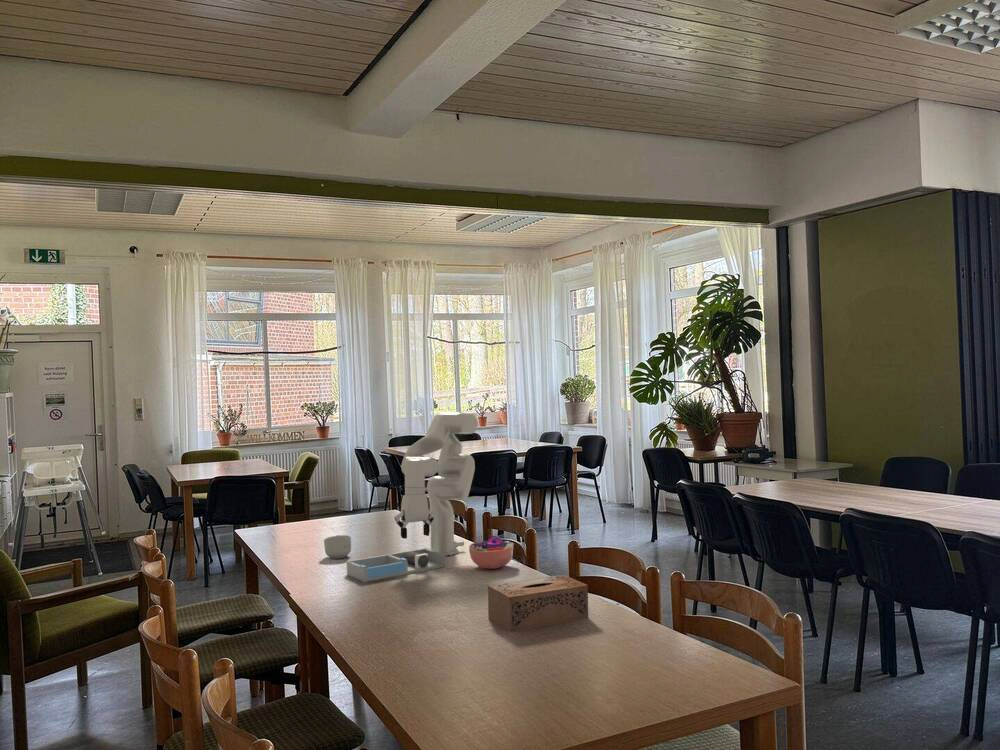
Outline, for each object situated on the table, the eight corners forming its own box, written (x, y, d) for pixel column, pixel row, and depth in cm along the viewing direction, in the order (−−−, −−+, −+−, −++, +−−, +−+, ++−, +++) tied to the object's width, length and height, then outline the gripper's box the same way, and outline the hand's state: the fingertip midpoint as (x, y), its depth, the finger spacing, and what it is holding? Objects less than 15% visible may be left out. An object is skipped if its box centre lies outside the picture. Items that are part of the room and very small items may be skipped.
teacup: (348, 560, 318) (347, 540, 318) (321, 560, 318) (320, 540, 318) (355, 552, 332) (354, 533, 332) (329, 552, 332) (328, 533, 332)
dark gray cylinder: (405, 563, 305) (404, 551, 305) (415, 561, 308) (414, 550, 308) (418, 568, 297) (418, 556, 297) (428, 566, 300) (428, 554, 300)
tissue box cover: (563, 606, 248) (563, 574, 248) (588, 619, 235) (587, 585, 235) (488, 619, 237) (487, 585, 237) (510, 632, 224) (509, 597, 224)
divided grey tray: (426, 560, 314) (426, 547, 314) (445, 566, 303) (445, 552, 303) (347, 574, 294) (346, 560, 294) (364, 582, 283) (364, 567, 283)
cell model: (458, 571, 295) (458, 540, 295) (484, 560, 313) (484, 531, 313) (499, 575, 288) (498, 544, 288) (523, 563, 305) (523, 534, 305)
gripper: (429, 489, 311) (429, 533, 310) (390, 492, 300) (390, 538, 300) (439, 490, 305) (440, 535, 304) (399, 494, 294) (400, 540, 294)
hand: (415, 536), depth 302 cm, fingers open, 9 cm apart
